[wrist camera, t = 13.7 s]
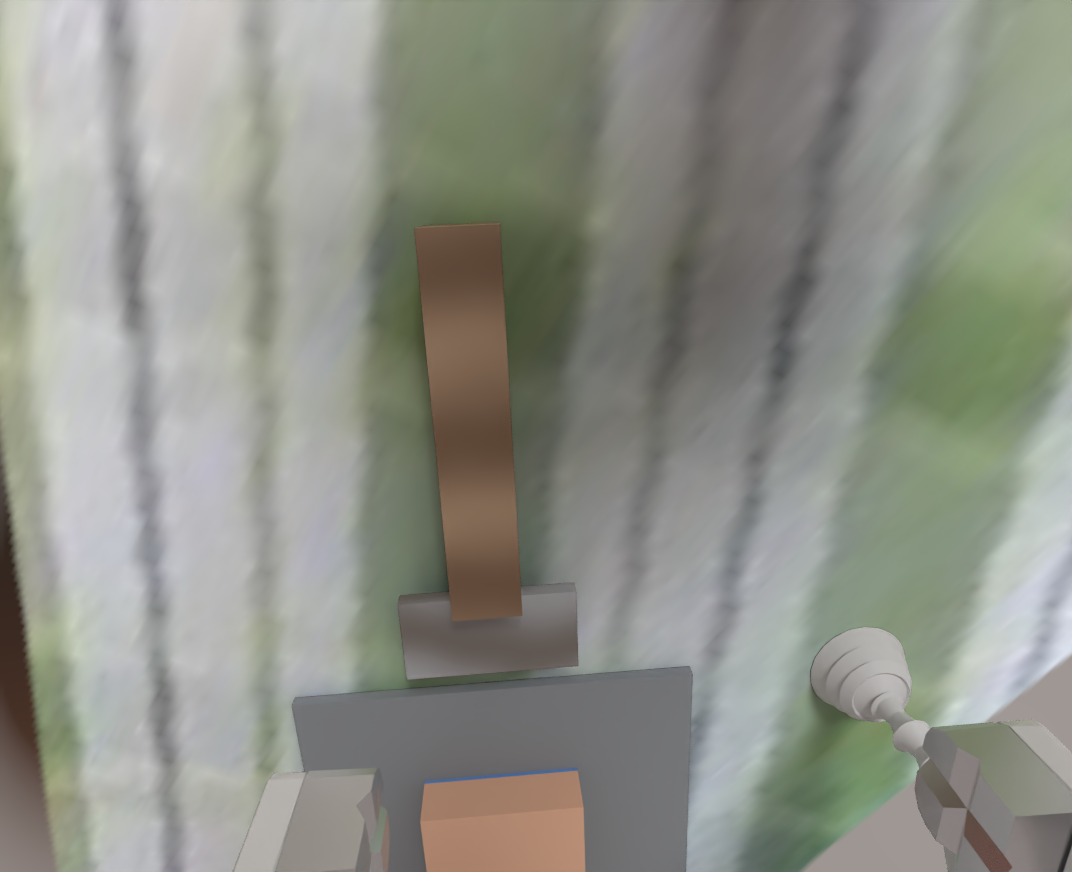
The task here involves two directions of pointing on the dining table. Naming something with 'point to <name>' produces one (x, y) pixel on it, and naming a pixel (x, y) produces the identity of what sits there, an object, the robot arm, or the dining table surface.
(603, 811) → the mat
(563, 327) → the dining table surface
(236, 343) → the dining table surface
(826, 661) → the chalice
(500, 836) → the tile
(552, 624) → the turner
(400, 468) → the dining table surface
